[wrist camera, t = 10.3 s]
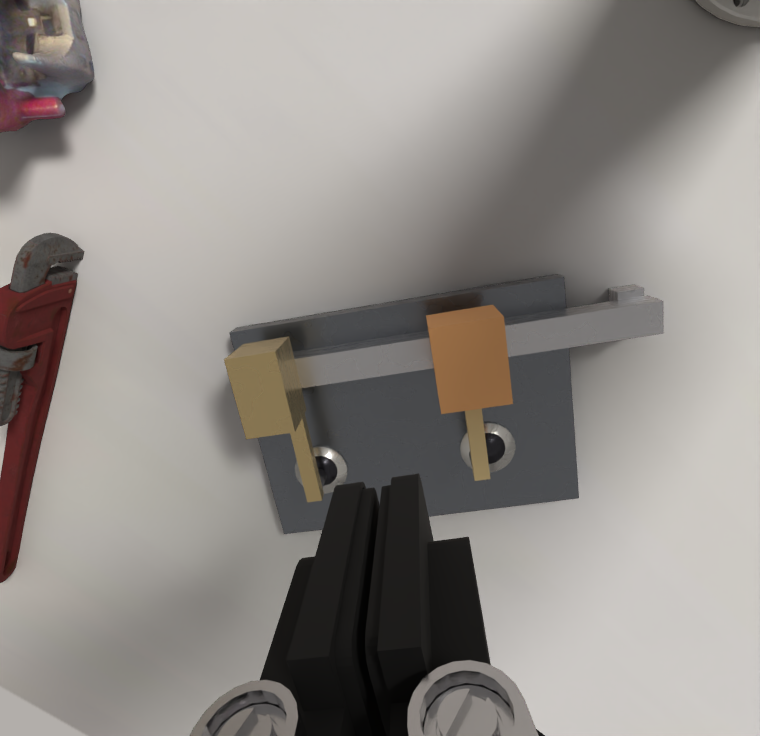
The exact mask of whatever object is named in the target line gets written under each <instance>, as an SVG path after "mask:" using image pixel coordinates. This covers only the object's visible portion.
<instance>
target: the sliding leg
mask: <svg viewBox="0 0 760 736" xmlns="http://www.w3.org/2000/svg"><path fill="white" fill-rule="evenodd" d="M426 319H427V326H428V332H429V339H430V346H431V352H432V359H433V365H434V372H435V379H436V385H437V392H438V398H439V404H440V409H441V414H446V413H453V412H460V411H465V418H466V425H467V433H468V440H469V447H470V452H469V457H470V461H471V465H472V469H473V476H474V480H475V481H479V480H487V479H490V471H489V463H488V455H487V447H486V439H485V431H484V423H483V415H482V408H489V407H496V406H503V405H510V404H513V398H512V389H511V379H510V370H509V360H508V351H507V341H506V331H505V322H504V316H503V315H502V314H501V313H500V312H499V311H498V310H497V308H496V307H495V306H494V305H487V306H481V307H475V308H469V309H462V310H456V311H450V312H444V313H438V314H432V315H426Z"/></svg>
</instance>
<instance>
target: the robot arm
mask: <svg viewBox="0 0 760 736" xmlns="http://www.w3.org/2000/svg"><path fill="white" fill-rule="evenodd" d="M695 1H696V2H697V3H698V4H699V5H700V6H701V7H702V8H704V9H705V10H707V11H708V12H710V13H711V14H713V15H714V16H716V17H718V18H720V19H722V20H725V21H728V22H731V23H734V24H736V25H741V26H751V27H760V0H734V1H735V5H734V3H733V0H695ZM190 736H545V735H543V734H542V733H541V732H539V731H538V730H537V729H536V728H535V725H534V722H533V720H532V717H531V715H530V712H529V710H528V707H527V704H526V702H525V699H524V698H523V696H522V694H521V692H520V691H519V689H518V687H517V685H516V684H515V683H514V682H513V681H512V680H511V679H510V678H509V677H508V676H507V675H506V674H505V673H504V672H503V671H501V670H499V669H497V668H495V667H493V666H491V664H490V658H489V652H488V646H487V640H486V634H485V628H484V622H483V616H482V610H481V604H480V599H479V593H478V587H477V581H476V575H475V570H474V564H473V558H472V553H471V547H470V541H469V537H464V538H456V539H449V540H441V541H433V536H432V531H431V526H430V521H429V516H428V511H427V506H426V502H425V497H424V492H423V487H422V482H421V478H420V475H419V473H418V474H412V475H405V476H398V477H392V478H391V485H387V486H382V489H381V497H380V505H379V501H378V496H377V493H376V490H375V488H374V487H373V488H367V489H366V486H365V484H364V482H357V483H350V484H343V485H337V486H335V488H334V491H333V495H332V498H331V502H330V505H329V509H328V513H327V516H326V520H325V523H324V527H323V531H322V534H321V538H320V541H319V545H318V548H317V552H316V556H315V557H308V558H302V559H301V560H299V562H298V564H297V566H296V569H295V572H294V575H293V579H292V582H291V585H290V588H289V591H288V594H287V597H286V600H285V603H284V606H283V610H282V613H281V616H280V619H279V622H278V625H277V628H276V631H275V634H274V638H273V641H272V644H271V647H270V650H269V653H268V656H267V659H266V662H265V665H264V669H263V672H262V675H261V678H260V681H251V682H248V683H246V684H243V685H240V686H238V687H235V688H233V689H232V690H230V691H229V692H227V693H226V694H224V695H223V696H221V697H220V698H218V699H217V700H216V701H215V702H214V703H213V704H212V705H211V706H210V707H209V708H208V709H207V710H206V711H205V712H204V714H203V715H202V717H201V718H200V720H199V721H198V722H197V724H196V725H195V727H194V728H193V730H192V732H191V734H190Z"/></svg>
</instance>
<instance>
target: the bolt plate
mask: <svg viewBox="0 0 760 736" xmlns="http://www.w3.org/2000/svg"><path fill="white" fill-rule="evenodd" d="M608 291H609V302H602V303H596V304H590V305H583V306H577V307H571V308H566V298H565V283H564V277H563V276H560V275H558V274H555V275H549V276H543V277H537V278H531V279H525V280H519V281H513V282H507V283H501V284H495V285H489V286H483V287H477V288H471V289H465V290H459V291H453V292H447V293H441V294H435V295H429V296H423V297H417V298H411V299H405V300H399V301H393V302H387V303H381V304H375V305H369V306H363V307H357V308H351V309H345V310H339V311H333V312H327V313H321V314H315V315H309V316H303V317H297V318H291V319H285V320H279V321H273V322H267V323H261V324H255V325H249V326H243V327H237V328H235V329H234V330H232V331H231V332H230V336H231V340H232V344H233V347H234V352H233V353H232V354H230V355H229V356H228V357H227V358H225V359H224V361H225V365H226V369H227V372H228V376H229V379H230V383H231V386H232V390H233V394H234V397H235V401H236V404H237V408H238V411H239V415H240V419H241V422H242V426H243V429H244V433H245V436H246V439H252V438H258V439H259V443H260V447H261V450H262V454H263V458H264V461H265V465H266V469H267V473H268V476H269V480H270V484H271V487H272V491H273V495H274V498H275V502H276V506H277V509H278V513H279V517H280V520H281V524H282V528H283V531H284V534H288V533H297V532H305V531H313V530H321V529H323V527H324V523H325V520H326V516H327V513H328V509H329V505H330V502H331V498H332V495H333V491H334V488H335V486H337V485H343V484H350V483H357V482H364V484H365V486H366V489H367V488H373V487H374V488H375V490H376V493H377V496H378V501H379V505H380V497H381V489H382V486H387V485H391V478H392V477H398V476H405V475H412V474H418V473H419V475H420V478H421V482H422V487H423V492H424V497H425V502H426V506H427V511H428V516H436V515H444V514H453V513H461V512H469V511H477V510H485V509H494V508H502V507H510V506H518V505H526V504H535V503H543V502H551V501H559V500H568V499H576V498H579V492H578V477H577V462H576V447H575V432H574V417H573V402H572V387H571V372H570V358H569V348H570V347H577V346H584V345H590V344H597V343H603V342H610V341H617V340H623V339H630V338H636V337H643V336H650V335H656V334H663V301H662V300H660V299H657V298H654V297H651V296H648V295H646V296H644V288H643V287H640V286H636V285H628V286H622V287H615V288H609V289H608ZM487 305H494V306H495V307H496V308H497V310H498V311H499V312H500V313H501V314H502V315H503V316H504V322H505V331H506V341H507V351H508V360H509V370H510V379H511V389H512V398H513V404H510V405H503V406H496V407H489V408H482V415H483V423H484V431H485V439H486V447H487V455H488V463H489V471H490V479H487V480H479V481H475V480H474V476H473V469H472V465H471V461H470V457H469V452H470V447H469V440H468V433H467V425H466V418H465V411H460V412H453V413H446V414H441V409H440V404H439V398H438V392H437V385H436V379H435V372H434V365H433V359H432V352H431V346H430V339H429V332H428V326H427V319H426V315H432V314H438V313H444V312H450V311H456V310H462V309H469V308H475V307H481V306H487Z"/></svg>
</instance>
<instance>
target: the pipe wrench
mask: <svg viewBox="0 0 760 736" xmlns="http://www.w3.org/2000/svg"><path fill="white" fill-rule="evenodd" d="M83 255H84V251H83V250H82V249H80V248H79V247H78V245H77V244H76V243H75V242H74V241H72V240H71V239H69V238H67V237H64V236H62V235H59V234H56V233H45V234H42V235H39V236H36V237H34V238H32V239H31V240H29V241H28V242H27V243H26V244H25V245H24V246H23V247H22V248H21V250H20V252H19V253H18V255H17V257H16V261H15V264H14V268H13V273H12V278H11V283H10V284H8V285H6V286H4V287H2V288H0V426H3V425H5V424H7V423H8V430H7V437H6V445H5V452H4V458H3V465H2V471H1V477H0V583H1V582H3V581H5V580H6V579H7V578H8V577H9V576H10V575H11V574H12V572H13V571H14V569H15V568H16V564H17V559H18V554H19V549H20V544H21V538H22V532H23V526H24V521H25V516H26V511H27V506H28V501H29V496H30V491H31V486H32V480H33V476H34V471H35V466H36V462H37V457H38V453H39V448H40V443H41V439H42V435H43V431H44V427H45V422H46V418H47V414H48V410H49V406H50V402H51V397H52V393H53V389H54V385H55V381H56V377H57V372H58V367H59V362H60V358H61V353H62V348H63V343H64V339H65V334H66V329H67V325H68V320H69V315H70V310H71V306H72V301H73V297H74V292H75V287H76V283H77V281H76V279H77V274H78V273H75V272H73V271H71V270H68V269H66V268H63V267H61V266H57V267H52V268H50V267H51V265H53V264H55V263H57V262H59V263H61V262H66V261H68V262H69V261H71V260H72V261H74V260H78V259H83Z"/></svg>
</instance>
